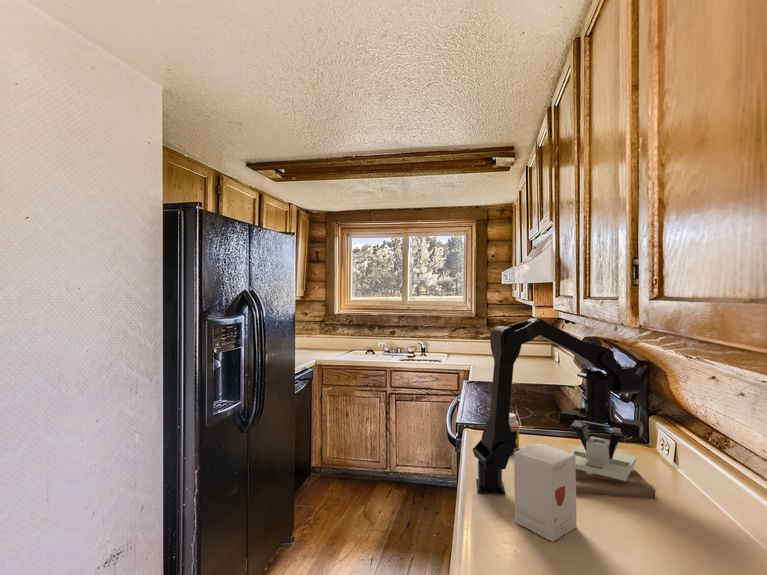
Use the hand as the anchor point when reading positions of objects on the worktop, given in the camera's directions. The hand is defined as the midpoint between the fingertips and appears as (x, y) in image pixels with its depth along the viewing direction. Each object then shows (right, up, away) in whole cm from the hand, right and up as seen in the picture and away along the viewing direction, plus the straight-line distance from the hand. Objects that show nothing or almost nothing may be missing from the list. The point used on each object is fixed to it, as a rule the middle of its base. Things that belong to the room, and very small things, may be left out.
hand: (599, 456), depth 106 cm
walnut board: (0, -6, 0) cm, 6 cm away
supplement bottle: (-16, -7, +22) cm, 28 cm away
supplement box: (-22, -6, -21) cm, 31 cm away
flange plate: (0, -2, 0) cm, 2 cm away
